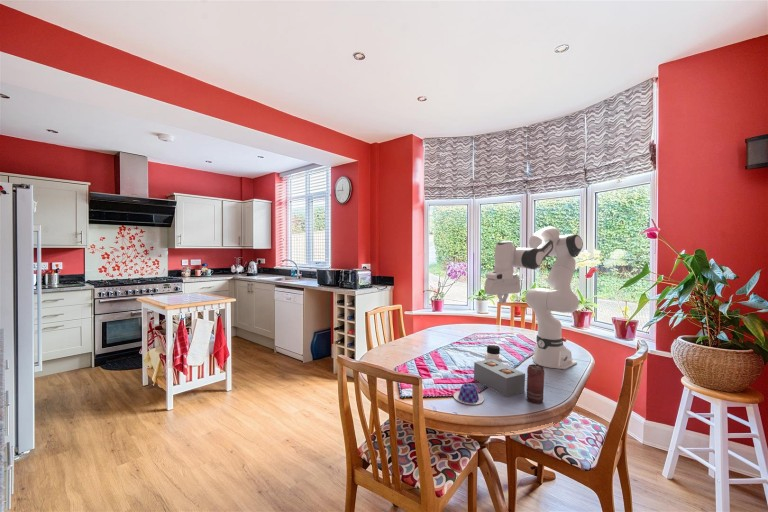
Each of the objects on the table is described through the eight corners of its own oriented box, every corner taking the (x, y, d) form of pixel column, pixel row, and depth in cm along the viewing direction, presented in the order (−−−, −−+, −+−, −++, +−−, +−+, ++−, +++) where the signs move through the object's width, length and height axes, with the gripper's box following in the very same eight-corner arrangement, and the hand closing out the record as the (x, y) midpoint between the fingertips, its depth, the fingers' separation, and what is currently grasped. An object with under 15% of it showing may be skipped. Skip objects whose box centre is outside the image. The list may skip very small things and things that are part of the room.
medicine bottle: (501, 372, 161) (502, 348, 160) (485, 371, 162) (486, 347, 161) (499, 367, 168) (499, 344, 167) (484, 366, 169) (485, 343, 168)
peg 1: (490, 377, 154) (491, 361, 153) (497, 380, 150) (497, 364, 150) (484, 379, 152) (484, 363, 151) (490, 382, 148) (491, 366, 148)
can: (523, 397, 136) (524, 363, 136) (537, 396, 137) (539, 363, 136) (530, 404, 130) (532, 369, 130) (546, 404, 131) (547, 369, 130)
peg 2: (505, 385, 146) (506, 368, 145) (513, 389, 142) (513, 372, 142) (499, 387, 144) (499, 370, 143) (506, 390, 140) (506, 373, 140)
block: (491, 375, 158) (492, 358, 158) (524, 391, 141) (525, 373, 140) (473, 379, 153) (474, 362, 153) (505, 397, 136) (506, 378, 136)
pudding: (449, 392, 140) (449, 380, 140) (476, 391, 142) (477, 379, 141) (459, 407, 128) (459, 393, 128) (488, 405, 130) (489, 392, 129)
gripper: (513, 273, 166) (513, 300, 167) (482, 274, 157) (482, 303, 158) (524, 274, 161) (523, 302, 162) (492, 276, 152) (491, 305, 152)
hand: (502, 303), depth 160 cm, fingers closed
